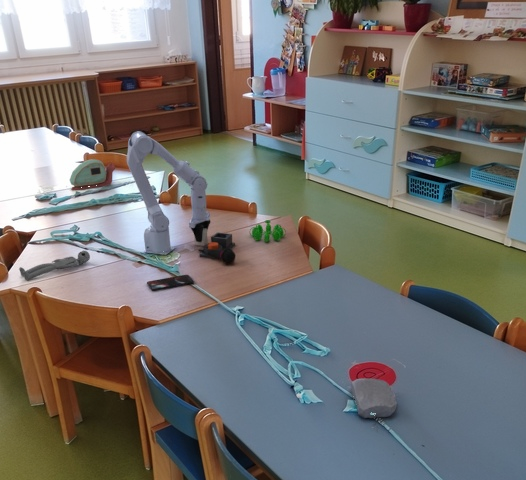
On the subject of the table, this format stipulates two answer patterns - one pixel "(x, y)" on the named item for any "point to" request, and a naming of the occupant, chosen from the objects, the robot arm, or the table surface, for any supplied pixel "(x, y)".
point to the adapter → (205, 255)
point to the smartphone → (170, 282)
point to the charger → (203, 238)
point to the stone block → (373, 397)
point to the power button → (213, 245)
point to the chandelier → (267, 232)
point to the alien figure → (55, 265)
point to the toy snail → (91, 175)
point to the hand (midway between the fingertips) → (201, 239)
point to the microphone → (222, 255)
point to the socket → (222, 239)
